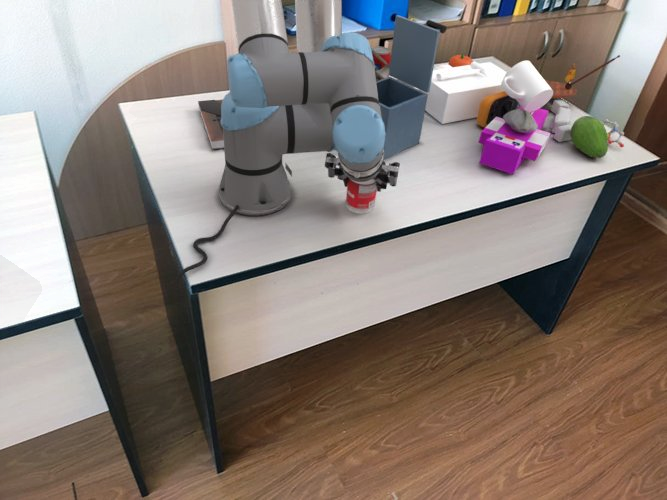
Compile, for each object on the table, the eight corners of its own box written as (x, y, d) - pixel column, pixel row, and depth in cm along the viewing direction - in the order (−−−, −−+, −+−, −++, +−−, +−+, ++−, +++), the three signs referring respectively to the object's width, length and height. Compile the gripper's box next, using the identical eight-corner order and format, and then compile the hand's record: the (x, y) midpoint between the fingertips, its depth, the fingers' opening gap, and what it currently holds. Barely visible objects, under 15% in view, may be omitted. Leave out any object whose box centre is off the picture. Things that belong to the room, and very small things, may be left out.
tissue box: (513, 110, 154) (524, 73, 146) (442, 123, 145) (450, 85, 137) (482, 89, 163) (491, 54, 156) (413, 101, 154) (420, 64, 147)
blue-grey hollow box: (382, 160, 129) (389, 109, 120) (346, 139, 136) (350, 89, 127) (419, 143, 136) (428, 94, 127) (383, 124, 143) (389, 76, 134)
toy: (562, 114, 142) (533, 155, 121) (554, 135, 146) (525, 178, 125) (509, 99, 147) (473, 136, 126) (503, 119, 151) (467, 158, 130)
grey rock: (539, 141, 126) (549, 121, 123) (506, 131, 126) (514, 110, 123) (529, 129, 136) (538, 110, 134) (498, 119, 136) (506, 100, 134)
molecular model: (593, 117, 139) (594, 143, 138) (626, 117, 138) (627, 143, 136) (584, 129, 146) (585, 154, 145) (615, 130, 145) (617, 155, 143)
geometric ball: (429, 77, 165) (428, 96, 161) (432, 57, 158) (431, 76, 154) (454, 79, 164) (454, 98, 160) (458, 58, 157) (458, 77, 154)
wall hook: (343, 47, 139) (353, 33, 138) (402, 97, 162) (410, 85, 161) (354, 54, 136) (364, 40, 135) (412, 104, 159) (420, 92, 158)
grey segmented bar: (553, 141, 141) (579, 146, 140) (558, 129, 138) (584, 133, 138) (544, 108, 156) (568, 112, 155) (549, 96, 153) (573, 100, 153)
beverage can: (360, 86, 160) (364, 46, 152) (380, 83, 162) (384, 44, 155) (370, 96, 156) (375, 55, 148) (390, 93, 158) (396, 52, 150)
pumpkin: (475, 78, 170) (480, 54, 165) (458, 83, 166) (464, 59, 161) (457, 70, 174) (462, 47, 170) (440, 74, 170) (445, 51, 166)
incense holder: (505, 79, 172) (511, 43, 167) (607, 87, 163) (617, 49, 158) (499, 94, 155) (506, 54, 149) (612, 104, 146) (623, 61, 140)
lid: (437, 31, 117) (461, 23, 122) (395, 15, 124) (419, 8, 129) (427, 92, 127) (449, 83, 131) (388, 75, 134) (411, 66, 138)
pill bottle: (343, 197, 115) (347, 152, 107) (372, 196, 115) (377, 152, 108) (347, 214, 110) (351, 169, 103) (376, 214, 111) (383, 169, 103)
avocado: (575, 111, 133) (599, 150, 129) (600, 107, 135) (624, 145, 131) (558, 131, 140) (580, 169, 136) (581, 127, 142) (604, 163, 138)
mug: (528, 90, 129) (505, 60, 133) (508, 114, 135) (487, 85, 139) (559, 88, 135) (536, 60, 139) (538, 111, 141) (517, 83, 145)
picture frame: (198, 109, 143) (212, 150, 128) (197, 100, 141) (211, 140, 126) (259, 103, 147) (279, 142, 132) (259, 95, 146) (279, 133, 131)
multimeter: (480, 96, 140) (490, 101, 138) (523, 82, 148) (533, 86, 146) (473, 126, 145) (482, 131, 143) (515, 110, 154) (525, 115, 152)
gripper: (302, 169, 91) (316, 193, 114) (414, 186, 89) (405, 206, 112) (309, 126, 91) (322, 159, 114) (420, 142, 90) (411, 172, 112)
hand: (363, 182), depth 113 cm, fingers closed on pill bottle, 6 cm apart
